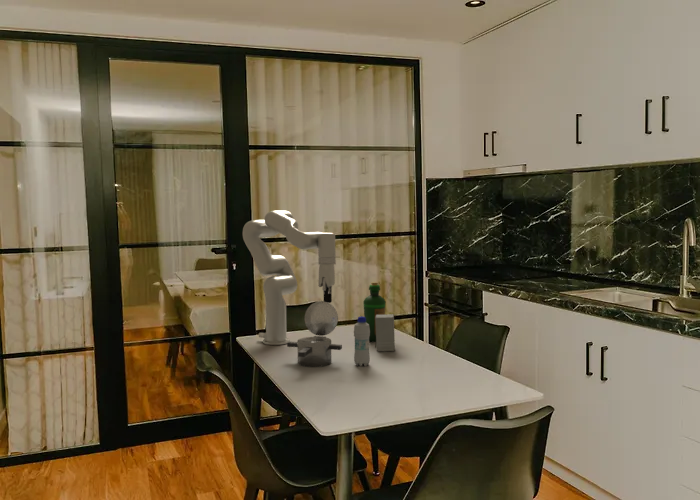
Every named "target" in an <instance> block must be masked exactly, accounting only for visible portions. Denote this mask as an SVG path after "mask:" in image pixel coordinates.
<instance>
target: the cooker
mask: <svg viewBox="0 0 700 500" xmlns="http://www.w3.org/2000/svg"><path fill="white" fill-rule="evenodd" d="M286 345H287V346H286V347H289V348H292V347H293V348H297V364H298V365H299V366H302V367H308V368H309V367H310V368H318V367H319V368H320V367H326V366H329V365H331V364H332V350H335V351H336V350H337V351H342V350H343V345H342V344H335V343H332V339H331V338H328V337H327V336H324V335H323V336H319V335H314V336H306V337H301V338H299V339H297V341H290V342H288V343H287V344H286Z"/></svg>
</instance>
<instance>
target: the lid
mask: <svg viewBox="0 0 700 500" xmlns="http://www.w3.org/2000/svg"><path fill="white" fill-rule="evenodd" d="M338 316H339V315H338V312H337V310H336V308H335V307H334V306H333V305H332V304H331V303H328V302H324V300H323V301H322V300H321V301H320V300H319V301H315V302H313V303H311V304H310V305H309V306H308V307H307V309H306V310H305V313H304V323H305V327H306V328H307V330H308V331H309V332H310V333H312V334H313V335H314V336H323V337H324V336H327V335H329V334H331V333H332V332H333V331H334V330H335V329H336V327H337V325H338V321H339V317H338Z"/></svg>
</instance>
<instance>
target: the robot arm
mask: <svg viewBox="0 0 700 500" xmlns="http://www.w3.org/2000/svg"><path fill="white" fill-rule="evenodd" d="M279 234H281V235H282V236H284V237H285V238H286V239H285V240H286V241H287V242H288V243H289V244H290V245H292V246H294V247H296V248H297V249H300V250H303V251H304V250H307V251H308V250H318V257H317V259H318V265H319V266H318V279H317V280H318V283H317V284H318V288H322V292H323V301H324V302H328V303H330V304H331V303H332V300H333V299H332V298H333V297H332V293H333V291H332V290H333V286H334V285H335V283H336V277H335V265H336V262H337V260H336V257H337V256H336V235H335V233H333V232H321V231H309V232H304V231H301V230H299V223H298V221H297V220H295V218H294V216H293V214H292V212H290V211H288V210H271V211H269V212H267V213H266V214H265V216H264V219H252V220H249V221H247V222H246V223H245V224H244V226H243V228H242V239H243V242H244V243H245V245H246V247H247V249H248V250H249V252H250V254H251V257H252V258H253V261H254V263H255V266H256V268H257V270H258V272H259V274H260V275H262V276H264V277H268V278H266V279H265V280H264V282H263V284H262V285H263V286H262V287H263V288H262V289H263V293H264V298H265V323H266V324H265V330H266V332H259V333H258V337H259V338H261V339H262V338H263V341H262V343H263V344H264V345H268V346H279V345H281V346H282V345H287V343H288V342H291V339H290V338H288V337H287V304H286V301H285V299H284V296H285V295H291V294H293V293H296V291H297V289H298V281H297V280H298V279H297V277H296V276H295V272H294V270H293V268H292V267H291V264H290V262H289V261H288V259H287V258H286V257H285V256H284V255H280V254H272V253H271V252H270V250H269V249H270V248H269V247H268V246H267V244H266V243H265V242H264V241H263V240H262V239H261V238H272V237H275V236H277V235H279Z"/></svg>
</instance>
